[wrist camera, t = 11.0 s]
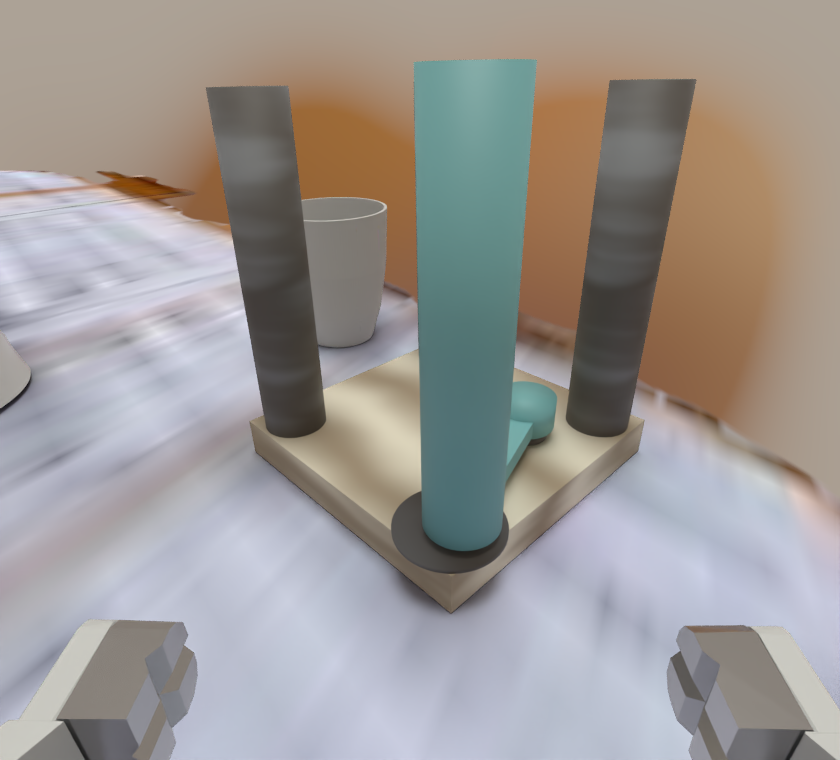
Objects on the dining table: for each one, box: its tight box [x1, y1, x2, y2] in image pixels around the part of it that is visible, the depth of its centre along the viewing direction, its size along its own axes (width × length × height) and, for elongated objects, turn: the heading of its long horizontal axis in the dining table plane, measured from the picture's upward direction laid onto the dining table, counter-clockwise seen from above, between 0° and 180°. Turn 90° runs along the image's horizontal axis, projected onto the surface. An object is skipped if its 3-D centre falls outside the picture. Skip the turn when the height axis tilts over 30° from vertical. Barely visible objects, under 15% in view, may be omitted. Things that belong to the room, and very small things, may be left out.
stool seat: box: [206, 79, 696, 613], centre depth 26 cm, size 16×16×18 cm
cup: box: [301, 197, 387, 347], centre depth 43 cm, size 8×8×10 cm
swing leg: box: [414, 59, 557, 551], centre depth 21 cm, size 11×3×16 cm, turn 153°
